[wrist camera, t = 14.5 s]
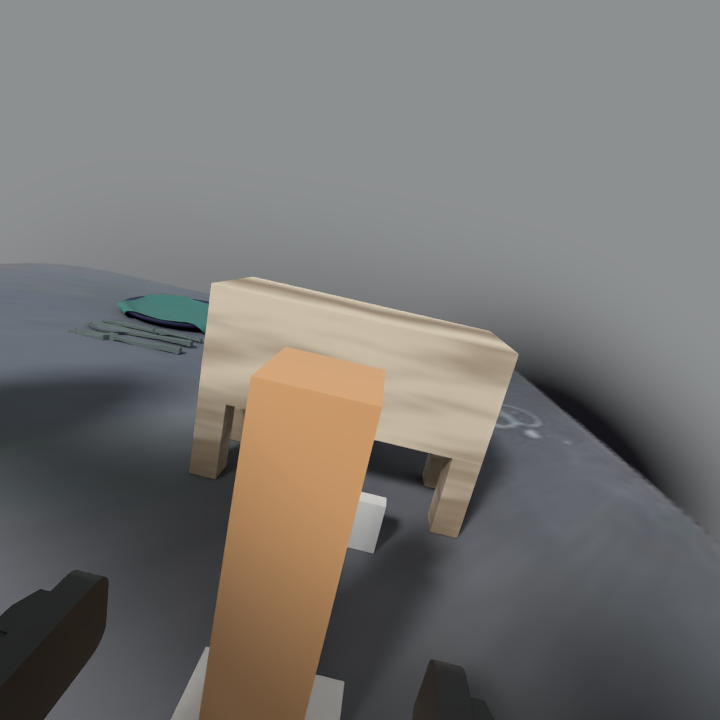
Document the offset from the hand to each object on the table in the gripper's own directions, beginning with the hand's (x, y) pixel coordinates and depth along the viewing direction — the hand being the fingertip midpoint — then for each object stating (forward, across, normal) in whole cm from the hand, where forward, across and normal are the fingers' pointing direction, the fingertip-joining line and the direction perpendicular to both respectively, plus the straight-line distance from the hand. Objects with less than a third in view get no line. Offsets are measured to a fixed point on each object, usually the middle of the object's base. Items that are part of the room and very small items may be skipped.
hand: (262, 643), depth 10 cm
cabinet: (+22, 0, +9) cm, 24 cm away
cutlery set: (+56, +32, +9) cm, 65 cm away
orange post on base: (+7, 0, +9) cm, 11 cm away
